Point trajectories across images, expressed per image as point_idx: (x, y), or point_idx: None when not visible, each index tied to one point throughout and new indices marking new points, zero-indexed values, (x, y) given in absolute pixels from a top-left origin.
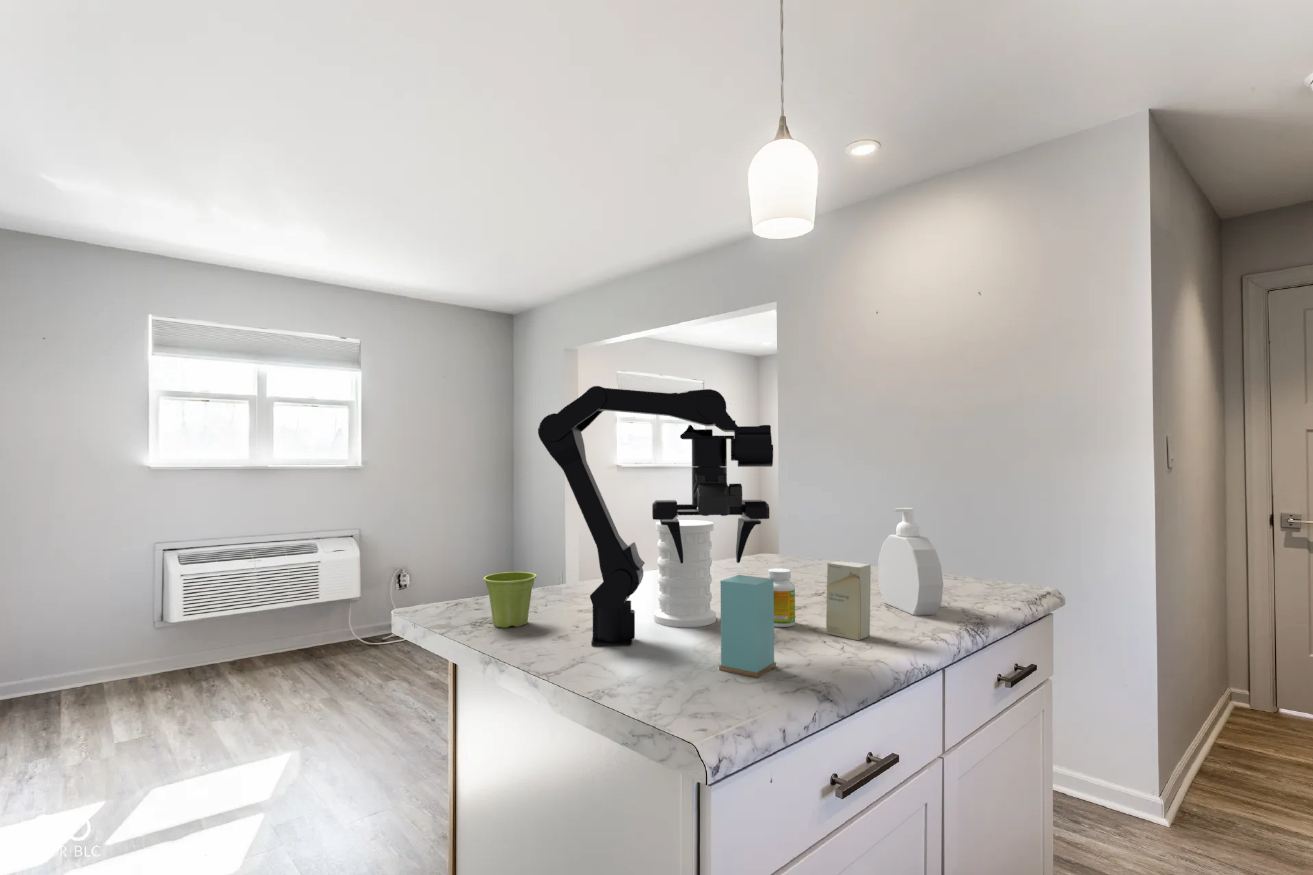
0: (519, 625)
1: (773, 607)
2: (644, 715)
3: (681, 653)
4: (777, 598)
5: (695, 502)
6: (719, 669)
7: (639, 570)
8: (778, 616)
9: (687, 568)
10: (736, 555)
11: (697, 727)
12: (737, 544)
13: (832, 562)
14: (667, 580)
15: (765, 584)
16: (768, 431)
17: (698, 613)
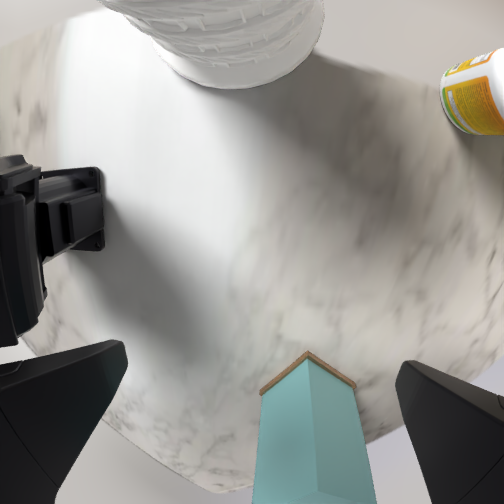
0: None
1: (367, 459)
2: (169, 462)
3: (201, 306)
4: (497, 127)
5: None
6: (260, 390)
7: (8, 284)
8: (471, 129)
9: (194, 17)
10: (411, 386)
11: (215, 482)
12: (436, 428)
13: None
14: (134, 23)
15: None
16: None
17: (265, 56)
